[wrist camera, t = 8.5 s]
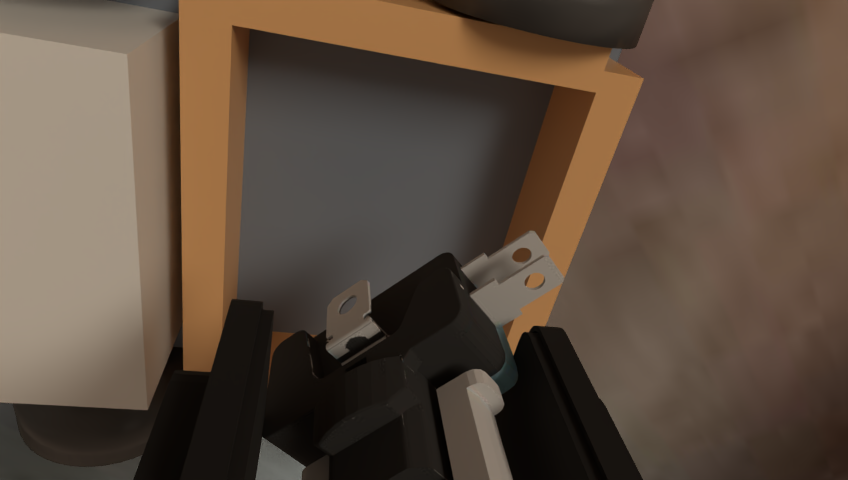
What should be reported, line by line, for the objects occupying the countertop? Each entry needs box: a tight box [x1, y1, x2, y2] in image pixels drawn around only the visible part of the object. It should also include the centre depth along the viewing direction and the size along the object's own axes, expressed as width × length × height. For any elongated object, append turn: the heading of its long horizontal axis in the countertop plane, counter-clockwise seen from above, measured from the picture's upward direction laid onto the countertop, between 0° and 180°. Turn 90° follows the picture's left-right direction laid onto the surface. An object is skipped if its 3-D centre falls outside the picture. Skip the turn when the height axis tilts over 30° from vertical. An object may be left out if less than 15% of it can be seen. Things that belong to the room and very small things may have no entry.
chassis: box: [0, 0, 654, 467], centre depth 15 cm, size 16×15×6 cm
